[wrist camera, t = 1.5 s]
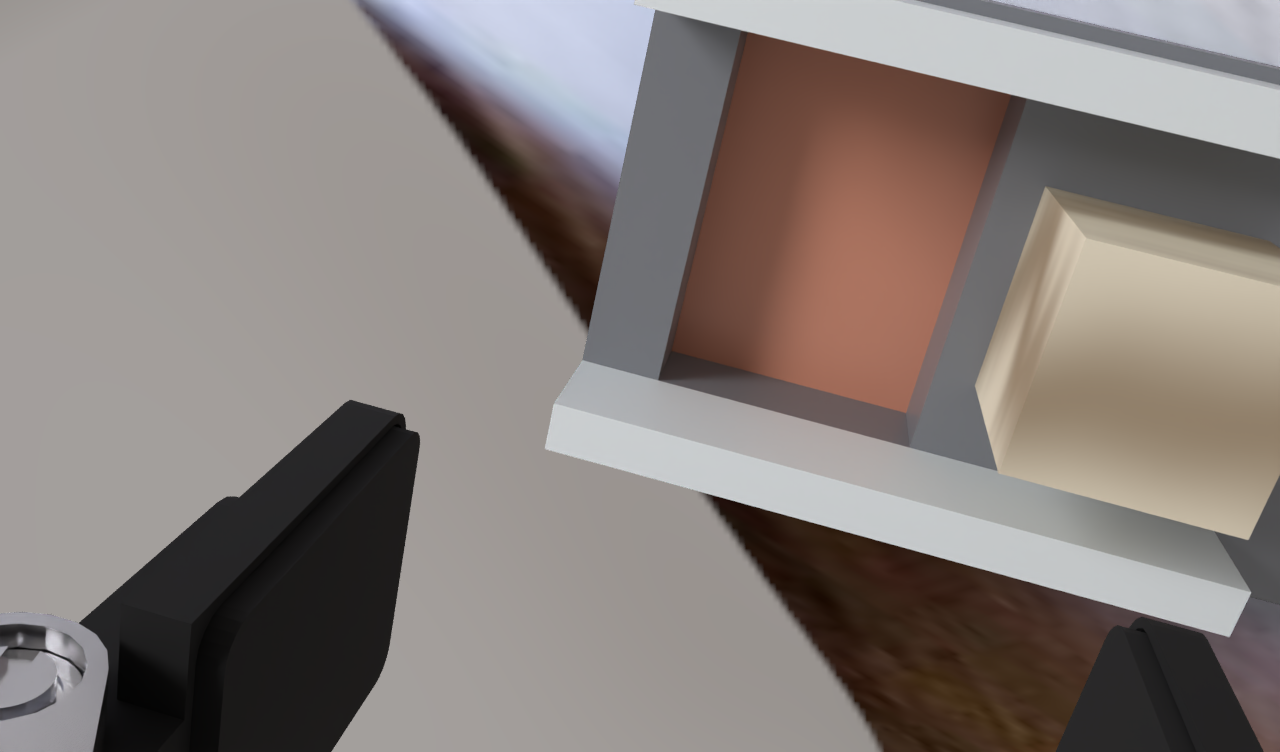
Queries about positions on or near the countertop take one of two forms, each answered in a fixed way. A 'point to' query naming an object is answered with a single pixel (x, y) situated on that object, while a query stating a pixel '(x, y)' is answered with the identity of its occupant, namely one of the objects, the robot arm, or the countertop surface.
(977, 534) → the gray tray
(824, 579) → the countertop surface
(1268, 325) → the block
